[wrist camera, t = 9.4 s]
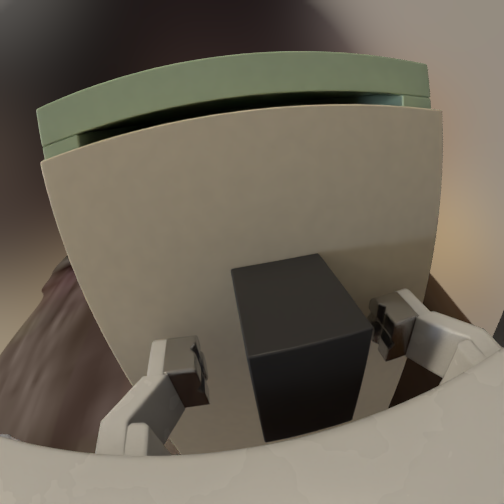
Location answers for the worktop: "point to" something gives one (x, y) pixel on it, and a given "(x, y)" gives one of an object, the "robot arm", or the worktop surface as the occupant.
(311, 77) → the box
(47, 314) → the worktop surface
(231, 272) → the basket
